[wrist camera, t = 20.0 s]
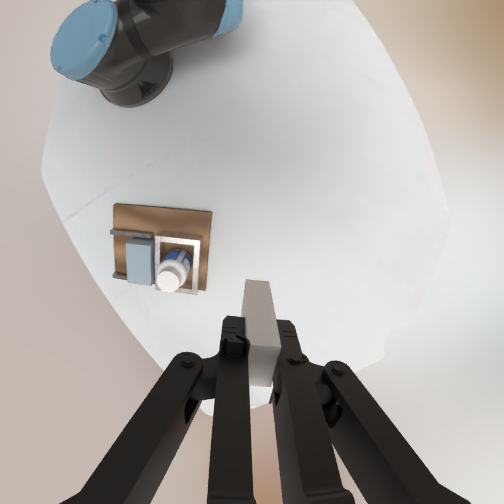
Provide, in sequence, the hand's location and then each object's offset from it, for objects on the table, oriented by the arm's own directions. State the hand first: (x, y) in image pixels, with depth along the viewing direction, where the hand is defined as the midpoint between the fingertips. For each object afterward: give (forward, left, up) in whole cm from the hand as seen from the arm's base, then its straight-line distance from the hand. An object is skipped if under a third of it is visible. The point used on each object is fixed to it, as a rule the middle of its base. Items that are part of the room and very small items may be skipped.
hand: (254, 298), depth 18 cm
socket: (+12, -12, -33) cm, 37 cm away
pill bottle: (+12, -12, -33) cm, 37 cm away
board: (+10, -17, -34) cm, 39 cm away
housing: (+12, -19, -33) cm, 40 cm away
